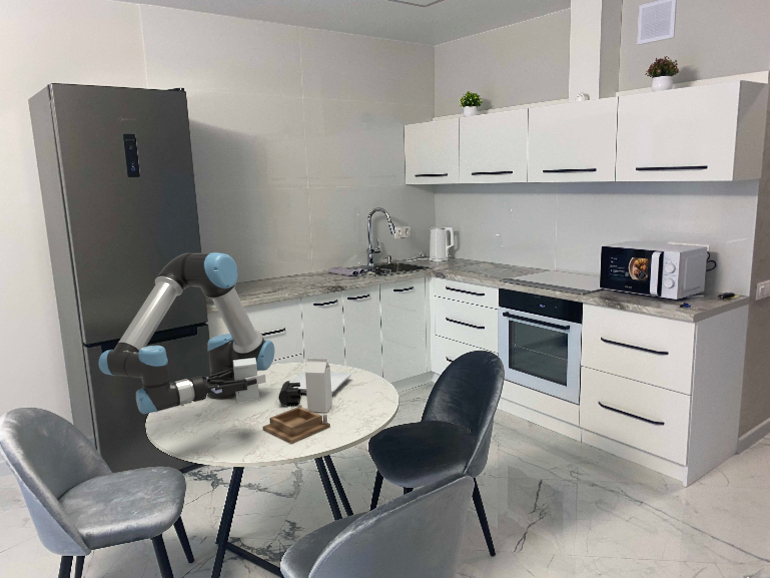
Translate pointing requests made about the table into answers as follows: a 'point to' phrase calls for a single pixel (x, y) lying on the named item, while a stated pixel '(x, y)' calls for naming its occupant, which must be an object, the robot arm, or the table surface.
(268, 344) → the robot arm
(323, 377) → the milk carton
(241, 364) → the supplement box
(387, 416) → the table surface
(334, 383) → the salad plate
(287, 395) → the end cap
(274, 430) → the jig
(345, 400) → the table surface
